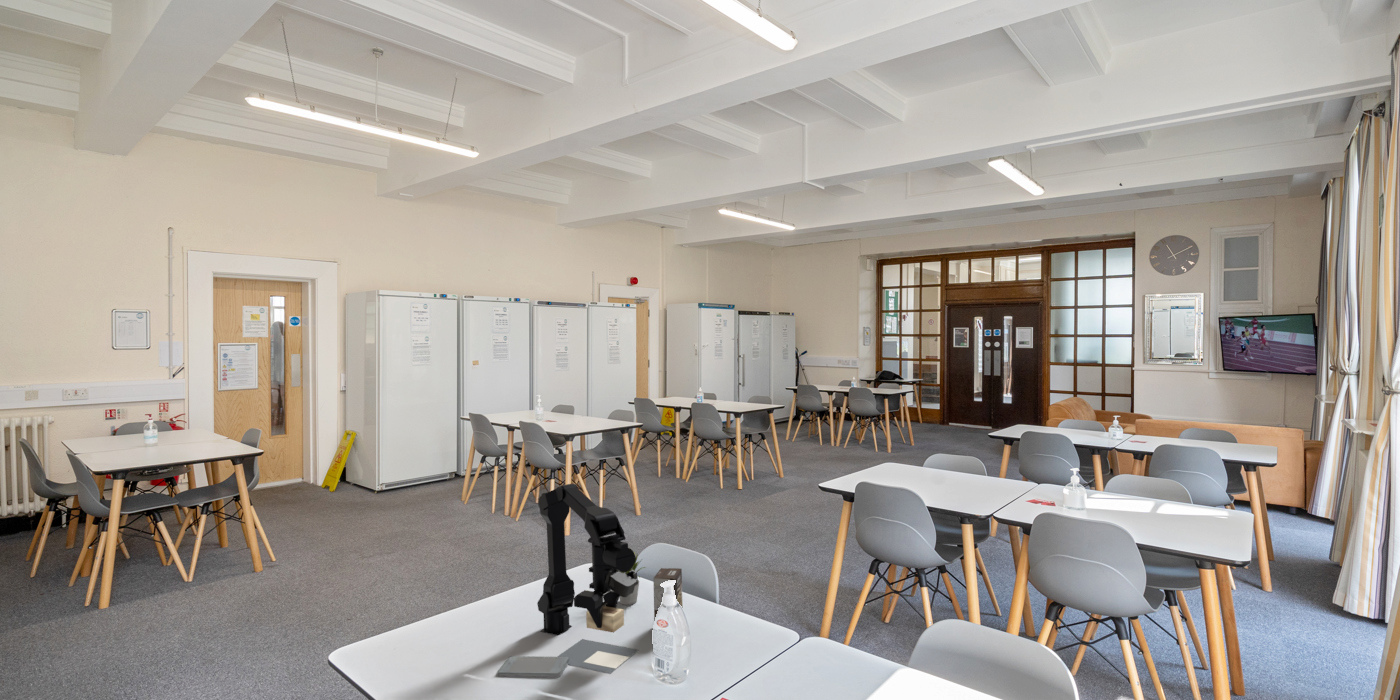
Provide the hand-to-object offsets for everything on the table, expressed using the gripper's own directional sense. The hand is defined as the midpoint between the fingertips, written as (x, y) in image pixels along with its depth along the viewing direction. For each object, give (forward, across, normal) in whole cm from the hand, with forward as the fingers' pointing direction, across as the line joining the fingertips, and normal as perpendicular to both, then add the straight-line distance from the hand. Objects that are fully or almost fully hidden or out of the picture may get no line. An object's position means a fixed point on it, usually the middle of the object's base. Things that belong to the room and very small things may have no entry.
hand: (605, 623), depth 172 cm
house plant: (+10, +38, +17) cm, 43 cm away
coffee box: (+10, +23, -6) cm, 26 cm away
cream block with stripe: (+1, 0, 0) cm, 1 cm away
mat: (+10, +1, +4) cm, 11 cm away
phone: (+10, -11, +14) cm, 20 cm away
